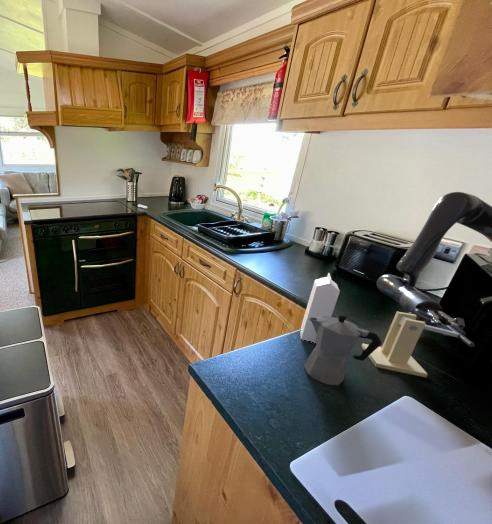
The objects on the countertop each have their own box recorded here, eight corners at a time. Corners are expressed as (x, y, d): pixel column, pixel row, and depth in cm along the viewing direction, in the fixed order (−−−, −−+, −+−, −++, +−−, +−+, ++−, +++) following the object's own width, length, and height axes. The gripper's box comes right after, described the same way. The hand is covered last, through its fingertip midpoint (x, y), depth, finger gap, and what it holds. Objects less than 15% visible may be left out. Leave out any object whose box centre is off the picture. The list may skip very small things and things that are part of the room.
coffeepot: (294, 373, 77) (312, 314, 71) (297, 354, 84) (313, 300, 78) (364, 399, 69) (391, 336, 63) (361, 377, 77) (384, 318, 71)
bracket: (406, 355, 88) (425, 312, 82) (426, 377, 78) (449, 331, 73) (361, 346, 91) (377, 304, 85) (375, 366, 81) (394, 321, 76)
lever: (448, 331, 82) (452, 323, 81) (471, 349, 74) (477, 341, 73) (392, 317, 85) (396, 310, 84) (409, 333, 77) (413, 325, 76)
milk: (300, 339, 92) (319, 276, 84) (299, 330, 97) (317, 270, 90) (322, 345, 90) (343, 281, 82) (320, 335, 95) (339, 274, 87)
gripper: (398, 291, 94) (429, 317, 79) (450, 299, 91) (494, 328, 75) (390, 311, 97) (419, 340, 81) (440, 320, 93) (481, 352, 78)
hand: (455, 334), depth 78 cm, fingers closed
